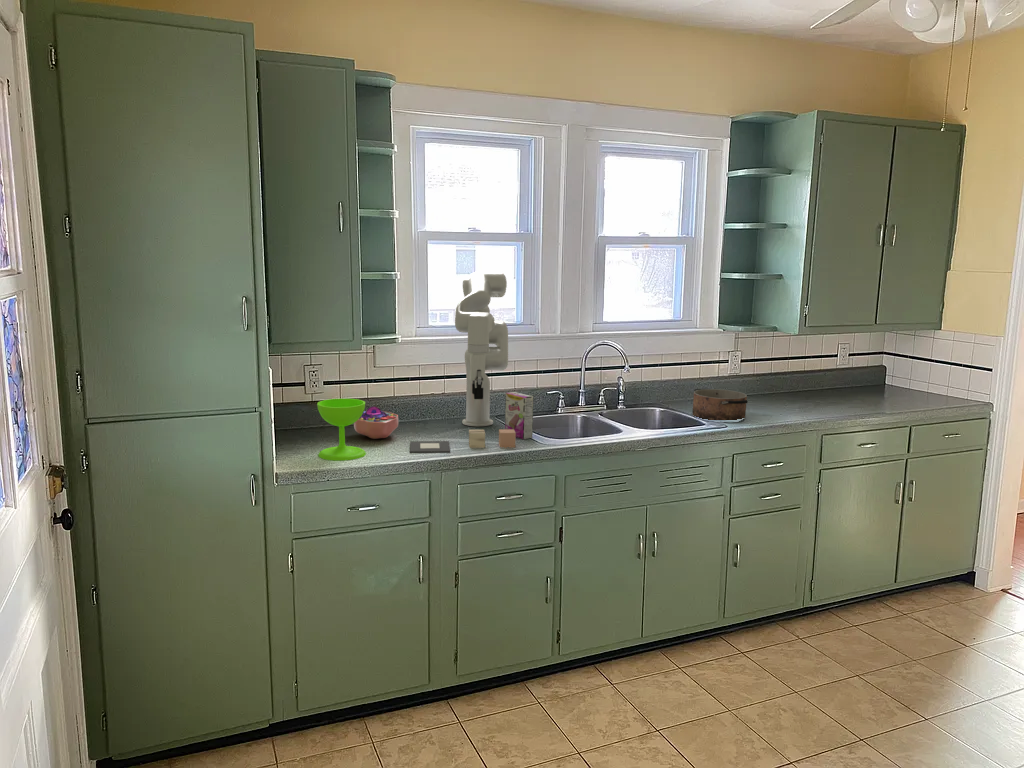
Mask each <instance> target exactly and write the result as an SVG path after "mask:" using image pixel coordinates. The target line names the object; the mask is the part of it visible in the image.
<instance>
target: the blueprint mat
mask: <svg viewBox="0 0 1024 768" xmlns="http://www.w3.org/2000/svg"><path fill="white" fill-rule="evenodd" d="M409 453H410V454H423V453H424V454H426V453H427V454H430V453H431V454H432V453H433V454H434V453H435V454H436V453H437V454H438V453H441V454H443V453H444V454H445V453H451V447H450V441H449V440H433V441H432V440H430V441H429V440H422V441H419V440H417V441H414V440H413V441H410V443H409Z"/></svg>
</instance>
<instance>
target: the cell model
mask: <svg viewBox="0 0 1024 768" xmlns="http://www.w3.org/2000/svg"><path fill="white" fill-rule="evenodd" d="M398 427H399V415H398V414H396V413H393V412H391V411H385V410H381V408H380V407H378V406H376V405H372V406H369V407H368V408H367V409H366V410H365V411H363V414H362V416H361V417H360V418H359V419H358V420H357V421H356V422H354V423H353V428H354V430H355V432H356V433H357V434H360V435H361V436H366V437H368V438H370V439H372V440H377V439H385V438H388V437H389V436H390V435H391V434H392V433H393V432H394V431H395V430H396V429H397V428H398Z"/></svg>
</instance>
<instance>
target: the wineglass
mask: <svg viewBox="0 0 1024 768" xmlns="http://www.w3.org/2000/svg"><path fill="white" fill-rule="evenodd" d="M316 407H317V410H318V412H319V414H320V415H319V416H320V417H321V418H322V419H323V420H324V422H327V423H328V424H330V425H332V426H335V427H338V439H339V440H338V445H337V446H330V447H327V448H324V449H322V450H320V451H319V453H318V457H319V459H323V460H326V461H334V462H335V461H336V462H341V461H352V460H358V459H361V458H364V457H365V456H366V454H367V453H366V451H365V449H363V448H361V447H358V446H351V445H346V437H345V436H346V430H345V429H346V428H345V427H348V426H350V425H354V422H356V421H357V420H358V419H359V418H360V417H361V416H362V414H363V412H365V408H366V401H365V400H362V399H357V398H329V399H324V400H320V401H318V402H317V403H316Z"/></svg>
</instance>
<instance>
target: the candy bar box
mask: <svg viewBox="0 0 1024 768" xmlns="http://www.w3.org/2000/svg"><path fill="white" fill-rule="evenodd" d="M504 411H505V412H504V421H505V422H504V424H505V425H504V429H514V431H515V433H516V438H517V439H520V440H528V439H529V440H530V439H532V438H533V432H534V431H533V429H534V428H533V425H534V396H533V395H528V394H525V393H521V392H517V391H510V392H505V410H504Z"/></svg>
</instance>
